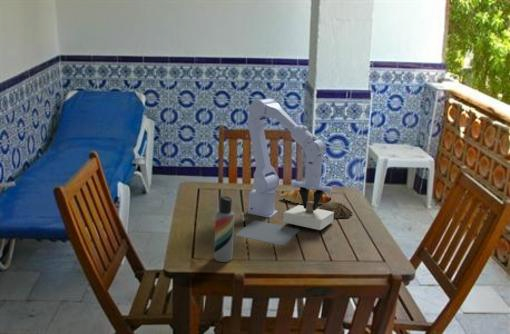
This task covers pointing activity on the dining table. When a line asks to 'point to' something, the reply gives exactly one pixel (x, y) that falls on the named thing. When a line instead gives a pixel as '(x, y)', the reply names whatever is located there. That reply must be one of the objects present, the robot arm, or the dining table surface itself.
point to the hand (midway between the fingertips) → (310, 208)
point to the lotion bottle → (224, 230)
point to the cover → (308, 216)
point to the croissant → (297, 198)
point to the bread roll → (336, 209)
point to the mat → (268, 232)
